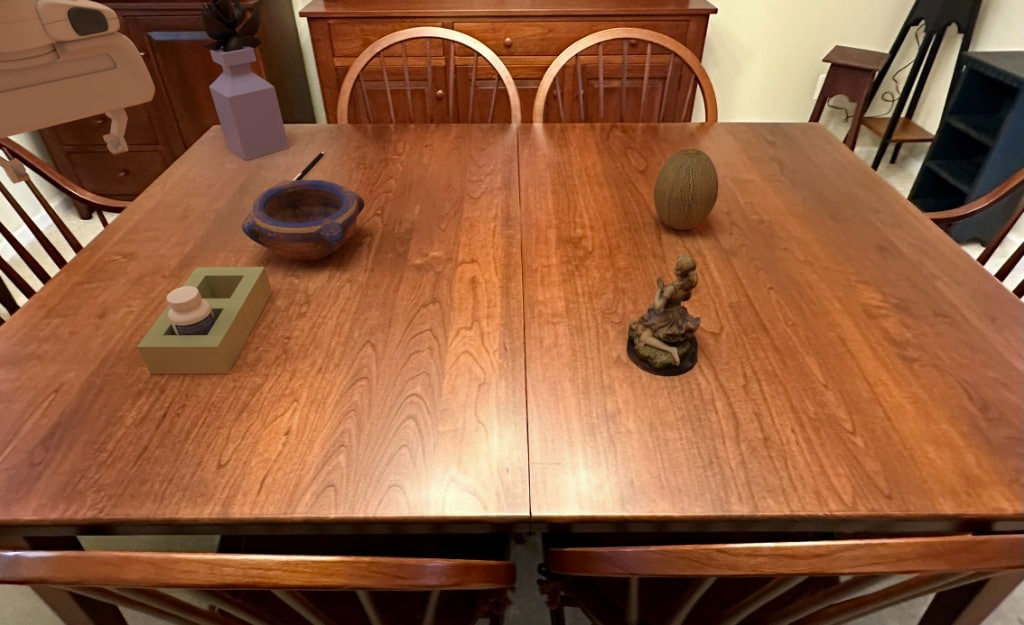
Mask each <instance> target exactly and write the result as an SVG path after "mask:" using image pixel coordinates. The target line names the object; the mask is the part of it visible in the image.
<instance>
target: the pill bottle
mask: <svg viewBox="0 0 1024 625" xmlns="http://www.w3.org/2000/svg"><path fill="white" fill-rule="evenodd" d="M166 302H167V305H169V307H170V310H169V312H168V318H169V321H170V322H171V325H172V327H173V329H174V331H175V334H176V335H208V333H209V331H210V330H211V328H212V327H213V325H214V323H215V322H216V319H215V316H214V313H213V311H212V308H211V306H210V304H209V303H208V302H207V301H206V300H204V299H202V298H201V295H200V293H199V291H198V289H197V288H196V287H192V286H185V287H182V286H181V287H177V288H175V289H173V290H171V291H170V292H169V293H168V294H167V295H166Z"/></svg>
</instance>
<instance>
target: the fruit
mask: <svg viewBox="0 0 1024 625" xmlns="http://www.w3.org/2000/svg"><path fill="white" fill-rule="evenodd" d="M718 195H719V176H718V173H717V170H716V166H715V164H714V163H713V161H712V159H711V158H710V156H709V155H708V154H707V153H705V152H704V151H702V150H700V149H695V148H685V149H681V150H678V151H677V152H675V153H673V154H672V155H671V156H670V157H668V159H667V160H666V161H665V162H664V164H663V165H662V167H661V169H660V171H659V172H658V175H657V178H656V181H655V184H654V190H653V202H654V207H655V210H656V213H657V215H658V217H659V219H660V220H661V221H662V222H663V224H664V225H666V226H667V227H669V228H671V229H673V230H674V229H675V230H680V231H681V230H683V231H684V230H689V229H690V230H691V229H693V228H695V227H697V226H699V225H700V224H702V223H703V222H704V221H705V220H706V219H708V217H709V216H710V214H711V213H712V211H713V209H714V208H715V206H716V203H717V200H718Z"/></svg>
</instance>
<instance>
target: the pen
mask: <svg viewBox="0 0 1024 625" xmlns="http://www.w3.org/2000/svg"><path fill="white" fill-rule="evenodd" d="M324 154H325V150H323V151H321V152H319V153H318V154H317V156H316V157H314V158H313V160H312V161H311V162H310V163H308V165H307V166H306V167H305V168H304V169H303V170H302V171H301V172H298V174H297V175H296V176H295V177H294V178H293V179H292V180H291V181H293V180H302V178H303V177H305V175H306V174H307V173H308V172H309V171H311V169H312V168H313V167H314V166H315V165H316V164H317V163H318V162H319V161H320V159H321V158H322V157H324Z"/></svg>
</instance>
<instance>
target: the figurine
mask: <svg viewBox="0 0 1024 625" xmlns="http://www.w3.org/2000/svg"><path fill="white" fill-rule="evenodd" d="M697 267H698V266H697V262H696V260H695V258H693V257H692V256H690V255H688V254H686V253H680V254H678V256H677V259H676V262H675V266H674V267H673V272H674V273H673V274H674V275H675V277H676V280H675V281H673V282H670V283H668V284H665V282H664V280H663V278H662V276H661V275H660V276H659V275H658V276H657V278H656V286H657V290H656V293H655V295H654V301H653V303H651V304H650V305H648V308H647V311H646V312H645V313H644V314H642V315H640V316H638V320H634V319H633V320H630V321H629V323H628V331H627V335H628V337H627V342H626V355H627V357H628V358H629V360H630V361H631V362H632V363H634V365H636V366H637V367H638V368H639V369H641V370H643V371H645V372H646V373H649V374H652V375H654V376H655V375H656V376H662V377H675V376H680V375H683V374H686V373H688V372H689V371H691V370H692V369H693V368H694V367H695V366H696V364H697V362H698V352H699V351H698V350H699V348H698V347H699V345H698V339H697V337H696V334H695V333H696V332H697V330H698V328H699V327H700V325H701V322H702V318H701V317H700V316H697V317H694V315H693V314H690V313H689V311H688V307H686V306H684V305H682V302H683V303H685V302H688V301H690V300H691V298H692V295H693V289H695V288H696V286H697V285H698V284H699V275H698V272H697V271H696V270H697Z"/></svg>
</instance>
